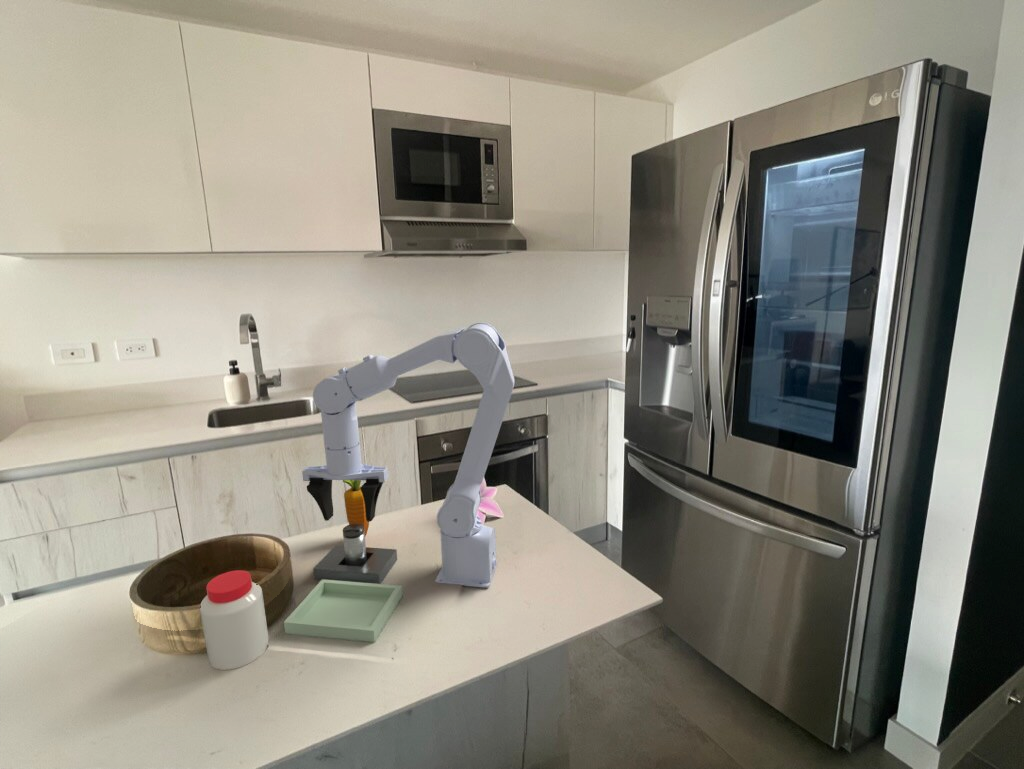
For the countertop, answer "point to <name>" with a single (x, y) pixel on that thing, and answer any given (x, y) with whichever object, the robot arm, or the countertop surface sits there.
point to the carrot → (355, 504)
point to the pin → (354, 545)
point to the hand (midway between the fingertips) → (349, 518)
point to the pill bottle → (233, 620)
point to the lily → (488, 502)
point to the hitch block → (369, 573)
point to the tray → (344, 611)
